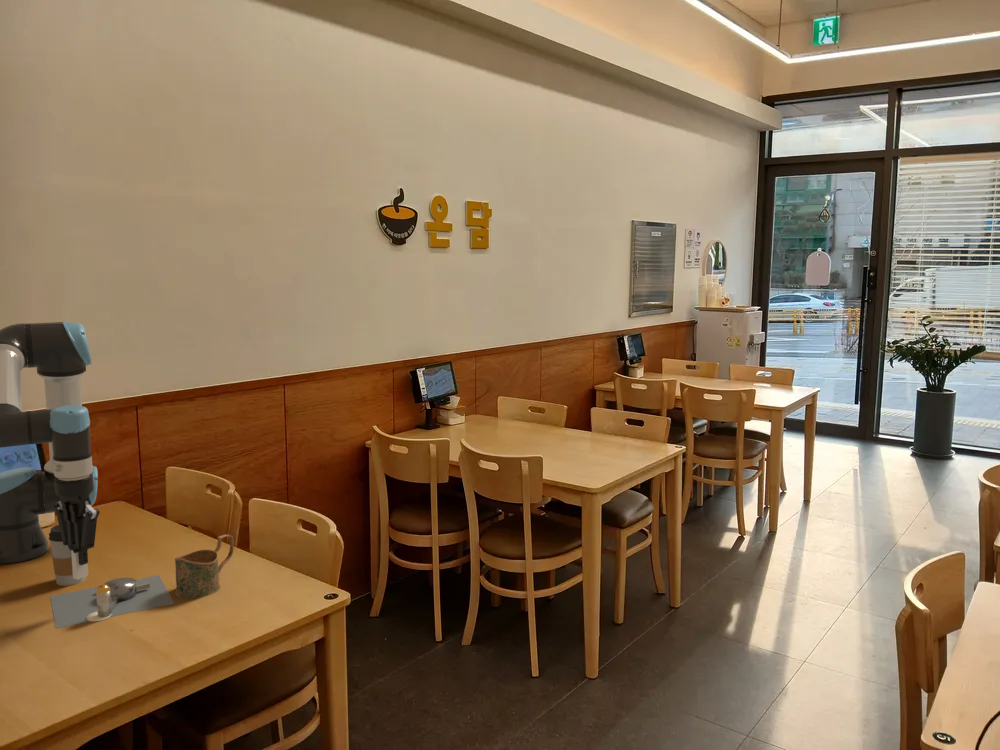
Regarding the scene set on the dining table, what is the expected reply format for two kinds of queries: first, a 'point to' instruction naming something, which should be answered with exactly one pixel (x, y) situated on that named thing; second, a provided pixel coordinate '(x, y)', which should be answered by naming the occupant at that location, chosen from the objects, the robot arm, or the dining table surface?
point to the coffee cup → (62, 559)
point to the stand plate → (84, 608)
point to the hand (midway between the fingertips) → (80, 576)
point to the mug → (200, 571)
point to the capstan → (116, 593)
